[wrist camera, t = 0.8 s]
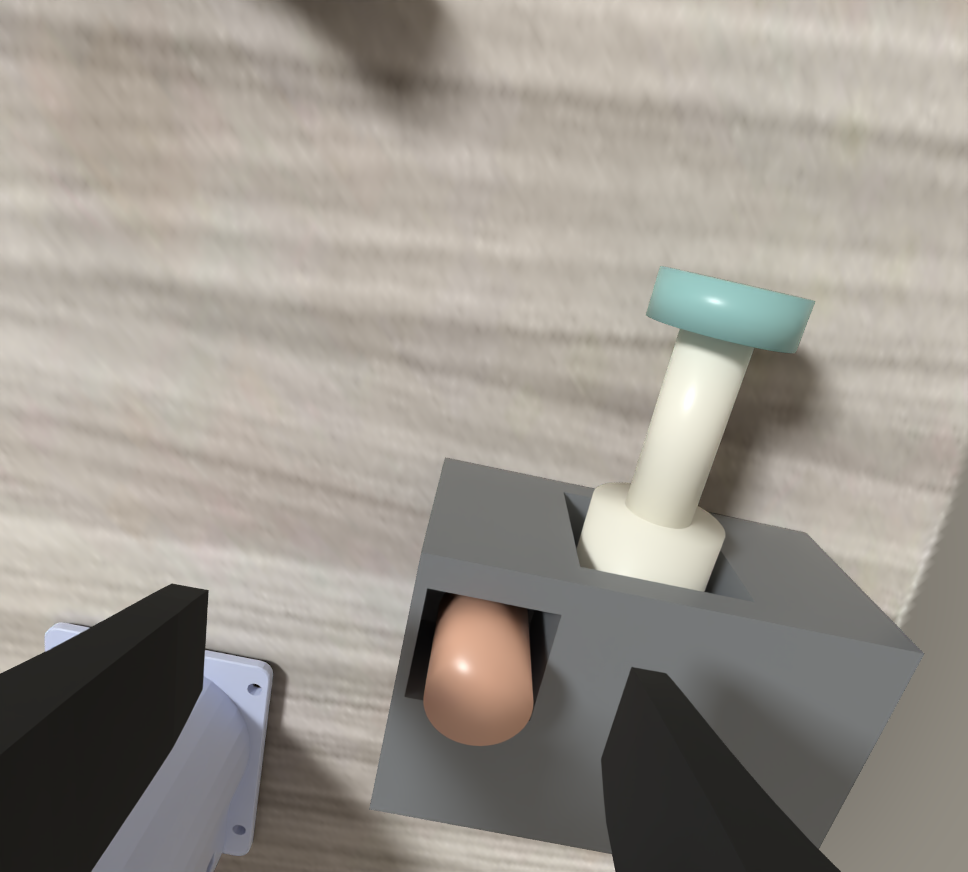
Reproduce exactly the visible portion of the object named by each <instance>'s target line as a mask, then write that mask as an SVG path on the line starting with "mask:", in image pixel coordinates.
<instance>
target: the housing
mask: <svg viewBox="0 0 968 872" xmlns="http://www.w3.org/2000/svg"><path fill="white" fill-rule="evenodd" d="M594 490H595V489H594V488H589V487H584V486H579V485H574V484H570V483H565V482H560V481H555V480H550V479H546V478H541V477H536V476H531V475H526V474H522V473H517V472H512V471H507V470H502V469H498V468H493V467H488V466H483V465H478V464H474V463H469V462H464V461H459V460H454V459H450V458H445V460H444V464H443V468H442V472H441V476H440V480H439V484H438V488H437V492H436V496H435V500H434V504H433V508H432V512H431V516H430V520H429V524H428V527H427V531H426V535H425V539H424V543H423V547H422V551H421V556H420V561H419V566H418V571H417V576H416V581H415V586H414V591H413V596H412V601H411V606H410V611H409V615H408V620H407V625H406V630H405V635H404V640H403V645H402V650H401V655H400V660H399V665H398V670H397V675H396V680H395V685H394V690H393V695H392V700H391V705H390V709H389V714H388V719H387V724H386V729H385V734H384V739H383V744H382V749H381V754H380V759H379V764H378V769H377V774H376V779H375V784H374V789H373V794H372V799H371V803H370V808H369V809H371V810H376V811H382V812H387V813H393V814H398V815H403V816H409V817H414V818H420V819H425V820H430V821H436V822H441V823H447V824H452V825H458V826H463V827H468V828H474V829H479V830H485V831H490V832H495V833H501V834H506V835H512V836H517V837H522V838H528V839H533V840H539V841H544V842H550V843H555V844H560V845H566V846H571V847H577V848H582V849H587V850H593V851H598V852H604V853H609V854H612V851H611V846H610V841H609V835H608V830H607V825H606V816H605V806H604V795H603V782H602V768H601V757H602V754H603V751H604V748H605V745H606V742H607V739H608V736H609V733H610V730H611V727H612V724H613V721H614V718H615V715H616V712H617V709H618V706H619V703H620V700H621V697H622V694H623V691H624V688H625V685H626V682H627V679H628V676H629V672H630V669H631V667H635V668H641V669H646V670H652V671H657V672H663V673H667V674H668V676H669V677H670V678H671V679H672V680H673V681H674V682H675V684H676V685H677V686H678V687H679V688H680V690H681V691H682V692H683V693H684V695H685V696H686V697H687V698H688V699H689V701H690V702H691V703H692V704H693V706H694V707H695V708H696V709H697V711H698V712H699V713H700V714H701V715H702V717H703V718H704V719H705V720H706V722H707V723H708V724H709V725H710V727H711V728H712V729H713V730H714V731H715V733H716V734H717V735H718V736H719V738H720V739H721V740H722V741H723V742H724V744H725V745H726V746H727V747H728V749H729V750H730V751H731V752H732V753H733V755H734V756H735V757H736V758H737V759H738V760H739V762H740V763H741V764H742V765H743V766H744V768H745V769H746V770H747V771H748V772H749V773H750V775H751V776H752V777H753V778H754V779H755V780H756V782H757V783H758V784H759V785H760V786H761V787H762V788H763V790H764V791H765V792H766V793H767V794H768V795H769V796H770V797H771V799H772V800H773V801H774V802H775V803H776V804H777V805H778V806H779V807H780V809H781V810H782V811H783V812H784V813H785V814H786V815H787V816H788V817H789V818H790V819H791V820H792V822H793V823H794V824H795V825H796V826H797V827H798V828H799V829H800V830H801V831H802V832H803V833H804V834H805V836H806V837H807V838H808V839H809V840H810V841H811V842H812V843H813V844H814V845H815V846H816V847H817V848H818V849H819V848H820V846H821V844H822V842H823V840H824V838H825V836H826V835H827V833H828V831H829V829H830V827H831V825H832V824H833V822H834V820H835V818H836V816H837V814H838V813H839V810H840V809H841V807H842V805H843V803H844V801H845V799H846V798H847V796H848V794H849V792H850V790H851V788H852V787H853V785H854V783H855V781H856V779H857V777H858V775H859V774H860V772H861V770H862V768H863V766H864V764H865V763H866V761H867V759H868V757H869V755H870V753H871V751H872V749H873V748H874V746H875V744H876V742H877V740H878V738H879V737H880V735H881V733H882V731H883V729H884V727H885V725H886V724H887V722H888V719H889V718H890V716H891V714H892V712H893V711H894V709H895V707H896V705H897V703H898V701H899V700H900V698H901V696H902V694H903V692H904V690H905V688H906V687H907V685H908V683H909V681H910V679H911V677H912V675H913V674H914V672H915V670H916V668H917V666H918V664H919V662H920V661H921V659H922V657H923V655H924V653H923V652H922V651H921V650H920V649H919V648H918V647H917V646H916V645H915V644H914V643H913V642H912V641H911V640H910V639H909V638H908V637H907V636H906V635H905V634H904V633H903V631H902V630H901V629H900V628H899V627H898V626H897V625H896V624H895V623H894V622H893V621H892V620H891V619H890V618H889V617H888V616H887V615H886V614H885V613H884V612H883V611H882V610H881V609H880V608H879V607H878V606H877V605H876V604H875V603H874V602H873V601H872V600H871V599H870V598H869V597H868V596H867V595H866V594H865V593H864V592H863V591H862V590H861V588H860V587H859V586H858V585H857V584H856V583H855V582H854V581H853V580H852V579H851V578H850V577H849V576H848V575H847V574H846V573H845V572H844V571H843V570H842V569H841V568H840V567H839V566H838V565H837V564H836V563H835V562H834V561H833V560H832V559H831V558H830V557H829V556H828V555H827V554H826V553H825V552H824V551H823V550H822V549H821V548H820V547H819V545H818V544H817V543H816V542H815V541H814V540H813V539H812V538H811V537H810V536H809V535H808V534H807V533H805V532H800V531H795V530H790V529H786V528H781V527H776V526H771V525H766V524H762V523H757V522H752V521H747V520H742V519H738V518H733V517H728V516H723V515H718V514H714V513H710V514H711V515H712V516H713V517H715V518H716V519H717V520H718V521H719V523H720V524H721V525H722V526H723V528H724V530H725V539H724V542H723V544H722V547H721V549H720V552H719V555H718V557H717V560H716V562H715V565H714V568H713V570H712V573H711V576H710V578H709V581H708V583H707V586H706V589H705V591H704V592H702V591H697V590H692V589H687V588H682V587H677V586H672V585H667V584H663V583H658V582H653V581H648V580H643V579H638V578H633V577H628V576H623V575H618V574H613V573H608V572H603V571H599V570H594V569H589V568H584V567H580V564H579V560H578V555H577V551H576V549H577V546H578V542H579V539H580V536H581V532H582V529H583V526H584V522H585V519H586V515H587V512H588V509H589V505H590V502H591V499H592V495H593V492H594ZM708 513H709V512H708ZM445 592H448V593H453V594H458V595H463V596H468V597H473V598H479V599H484V600H489V601H494V602H499V603H504V604H509V605H514V606H519V607H524V608H527V610H528V623H529V640H530V656H531V672H532V688H533V710H532V714H531V717H530V719H529V721H528V723H527V724H526V725H525V727H524V728H523V729H522V730H521V731H520V732H519V733H518V734H516V735H515V736H514V737H512V738H510V739H508V740H506V741H504V742H501V743H498V744H494V745H488V746H472V745H466V744H462V743H459V742H456V741H453V740H451V739H449V738H447V737H446V736H444V735H443V734H441V733H440V732H439V731H438V730H437V729H436V728H435V727H434V726H433V725H432V724H431V722H430V721H429V719H428V717H427V715H426V712H425V709H424V704H423V697H424V690H425V685H426V679H427V673H428V667H429V661H430V655H431V649H432V643H433V638H434V632H435V626H436V620H437V614H438V608H439V604H440V601H441V599H442V597H443V595H444V594H445Z"/></svg>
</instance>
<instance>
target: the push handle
mask: <svg viewBox="0 0 968 872" xmlns="http://www.w3.org/2000/svg"><path fill="white" fill-rule="evenodd" d="M814 304H815V301H813V300H809V299H805V298H801V297H797V296H793V295H789V294H784V293H780V292H776V291H772V290H767V289H763V288H759V287H754V286H750V285H746V284H741V283H737V282H732V281H728V280H724V279H719V278H715V277H710V276H706V275H701V274H697V273H692V272H688V271H683V270H678V269H674V268H669V267H664V266H660V268H659V272H658V275H657V279H656V282H655V285H654V289H653V292H652V296H651V299H650V302H649V306H648V309H647V312H646V315H647V316H648V317H650V318H652V319H654V320H657V321H659V322H662V323H665V324H668V325H671V326H674V327H677V328H680V330H679V334H678V337H677V340H676V343H675V346H674V349H673V353H672V356H671V359H670V362H669V365H668V368H667V372H666V375H665V378H664V381H663V384H662V387H661V391H660V394H659V397H658V400H657V403H656V406H655V410H654V413H653V416H652V419H651V422H650V425H649V429H648V432H647V435H646V438H645V441H644V444H643V448H642V451H641V454H640V457H639V460H638V463H637V467H636V470H635V473H634V476H633V479H632V482H631V483H607V484H603V485H600V486H598V487H597V488H596V489H595V490H594V492H593V495H592V499H591V502H590V505H589V509H588V512H587V515H586V519H585V522H584V526H583V529H582V532H581V536H580V539H579V542H578V546H577V549H576V551H577V555H578V560H579V564H580V567H584V568H589V569H594V570H599V571H603V572H608V573H613V574H618V575H623V576H628V577H633V578H638V579H643V580H648V581H653V582H658V583H663V584H667V585H672V586H677V587H682V588H687V589H692V590H697V591H702V592H704V591H705V589H706V586H707V583H708V581H709V578H710V576H711V573H712V570H713V568H714V565H715V562H716V560H717V557H718V555H719V552H720V549H721V547H722V544H723V542H724V539H725V530H724V528H723V526H722V525H721V524H720V523H719V521H718V520H717V519H716V518H715V517H713V516H712V515H711V514H710V513H708V512H707V511H705V510H704V509H702V508H701V507H699V506H698V503H699V501H700V498H701V495H702V492H703V489H704V487H705V484H706V481H707V478H708V475H709V473H710V470H711V467H712V464H713V462H714V459H715V456H716V453H717V450H718V448H719V445H720V442H721V439H722V437H723V434H724V431H725V428H726V425H727V423H728V420H729V417H730V414H731V411H732V409H733V406H734V403H735V400H736V398H737V395H738V392H739V389H740V386H741V384H742V381H743V378H744V375H745V373H746V370H747V367H748V364H749V361H750V359H751V356H752V353H753V350H754V348H759V349H765V350H770V351H776V352H783V353H796V351H797V348H798V346H799V343H800V340H801V338H802V335H803V333H804V330H805V327H806V325H807V322H808V319H809V317H810V314H811V312H812V309H813V306H814Z"/></svg>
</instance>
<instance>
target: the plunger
mask: <svg viewBox="0 0 968 872" xmlns="http://www.w3.org/2000/svg"><path fill="white" fill-rule="evenodd" d="M423 704H424V709H425V712H426V715H427V717H428V719H429V721H430V722H431V724H432V725H433V726H434V727H435V728H436V729H437V730H438V731H439V732H440V733H441V734H443V735H444V736H446V737H447V738H449V739H451V740H453V741H456V742H459V743H462V744H466V745H472V746H488V745H494V744H498V743H501V742H504V741H506V740H508V739H510V738H512V737H514V736H515V735H516V734H518V733H519V732H520V731H521V730H522V729H523V728H524V727H525V725H526V724H527V723H528V721H529V719H530V717H531V714H532V710H533V688H532V672H531V656H530V640H529V623H528V610H527V608H524V607H519V606H514V605H509V604H504V603H499V602H494V601H489V600H484V599H479V598H473V597H468V596H463V595H458V594H453V593H448V592H445V594H444V595H443V597H442V599H441V601H440V604H439V608H438V614H437V620H436V626H435V632H434V638H433V643H432V649H431V655H430V661H429V667H428V673H427V679H426V685H425V690H424V697H423Z"/></svg>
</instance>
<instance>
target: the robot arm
mask: <svg viewBox="0 0 968 872" xmlns="http://www.w3.org/2000/svg"><path fill="white" fill-rule="evenodd" d="M208 591H209V590H204V589H199V588H193V587H188V586H182V585H177V584H170V585H168V586H166V587H164V588H162V589H160V590H158V591H157V592H155V593H153V594H151V595H149V596H147V597H145V598H144V599H142V600H140V601H138V602H136V603H134V604H133V605H131V606H129V607H127V608H125V609H124V610H122V611H120V612H118V613H116V614H115V615H113V616H111V617H109V618H107V619H106V620H104V621H102V622H100V623H98V624H96V625H94V626H93V627H91V628H89V627H84V626H79V625H73V624H68V623H57V624H54V625H53V626H52V627H51V628H50V629H49V630H48V631H47V632H46V633H45V652H44V653H42V654H40V655H38V656H36V657H34V658H31V659H29V660H27V661H25V662H23V663H21V664H19V665H17V666H15V667H13V668H11V669H9V670H7V671H5V672H3V673H1V674H0V872H214V870H215V868H216V866H217V863H218V861H219V859H220V857H221V854H222V853H224V854H229V855H235V856H242V855H245V854H247V853H248V852H249V850H250V848H251V845H252V843H253V837H254V828H255V820H256V812H257V804H258V795H259V787H260V779H261V771H262V762H263V754H264V746H265V738H266V730H267V721H268V713H269V705H270V697H271V688H272V680H273V670H272V668H271V666H270V665H268V664H267V663H266V662H263V661H260V660H255V659H250V658H244V657H239V656H234V655H229V654H224V653H219V652H213V651H208V650H205V643H206V626H207V608H208ZM253 684H257V685H259V686H260V687H261V688H258V687H255V686H254V685H253ZM601 768H602V782H603V795H604V806H605V816H606V825H607V830H608V835H609V841H610V846H611V851H612V856H613V861H614V866H615V871H616V872H841V871H840V870H839V869H838V868H837V867H835V865H833V863H831V861H830V860H829V859H827V857H826V856H825V855H824V854H823V853H822V852H821V851H820V850H819V849H818V848H817V847H816V846H815V845H814V844H813V843H812V842H811V841H810V840H809V839H808V838H807V837H806V836H805V834H804V833H803V832H802V831H801V830H800V829H799V828H798V827H797V826H796V825H795V824H794V823H793V822H792V820H791V819H790V818H789V817H788V816H787V815H786V814H785V813H784V812H783V811H782V810H781V809H780V807H779V806H778V805H777V804H776V803H775V802H774V801H773V800H772V799H771V797H770V796H769V795H768V794H767V793H766V792H765V791H764V790H763V788H762V787H761V786H760V785H759V784H758V783H757V782H756V780H755V779H754V778H753V777H752V776H751V775H750V773H749V772H748V771H747V770H746V769H745V768H744V766H743V765H742V764H741V763H740V762H739V760H738V759H737V758H736V757H735V756H734V755H733V753H732V752H731V751H730V750H729V749H728V747H727V746H726V745H725V744H724V742H723V741H722V740H721V739H720V738H719V736H718V735H717V734H716V733H715V731H714V730H713V729H712V728H711V727H710V725H709V724H708V723H707V722H706V720H705V719H704V718H703V717H702V715H701V714H700V713H699V712H698V711H697V709H696V708H695V707H694V706H693V704H692V703H691V702H690V701H689V699H688V698H687V697H686V696H685V695H684V693H683V692H682V691H681V690H680V688H679V687H678V686H677V685H676V684H675V682H674V681H673V680H672V679H671V678H670V677H669V676H668V674H667V673H663V672H657V671H652V670H646V669H641V668H635V667H631V669H630V672H629V676H628V679H627V682H626V685H625V688H624V691H623V694H622V697H621V700H620V703H619V706H618V709H617V712H616V715H615V718H614V721H613V724H612V727H611V730H610V733H609V736H608V739H607V742H606V745H605V748H604V751H603V754H602V757H601Z"/></svg>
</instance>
